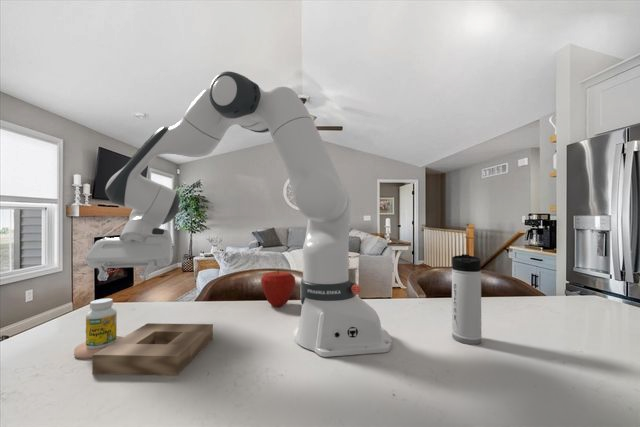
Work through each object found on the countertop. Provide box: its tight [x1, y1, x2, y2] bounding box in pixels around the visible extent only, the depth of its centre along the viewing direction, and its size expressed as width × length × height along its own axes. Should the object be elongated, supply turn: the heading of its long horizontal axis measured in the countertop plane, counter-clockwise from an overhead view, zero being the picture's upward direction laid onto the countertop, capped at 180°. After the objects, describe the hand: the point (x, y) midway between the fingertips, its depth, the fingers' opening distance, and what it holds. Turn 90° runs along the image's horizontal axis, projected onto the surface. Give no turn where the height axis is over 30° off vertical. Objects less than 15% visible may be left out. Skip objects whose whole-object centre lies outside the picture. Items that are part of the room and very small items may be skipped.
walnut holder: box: [91, 322, 214, 376], centre depth 60 cm, size 16×16×4 cm
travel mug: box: [451, 253, 482, 345], centre depth 69 cm, size 6×7×20 cm
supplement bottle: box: [85, 298, 118, 349], centre depth 63 cm, size 5×5×10 cm
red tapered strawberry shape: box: [260, 269, 296, 308], centre depth 95 cm, size 11×11×12 cm
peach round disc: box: [73, 335, 124, 360], centre depth 63 cm, size 9×9×1 cm
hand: (122, 278), depth 73 cm, fingers open, 8 cm apart
